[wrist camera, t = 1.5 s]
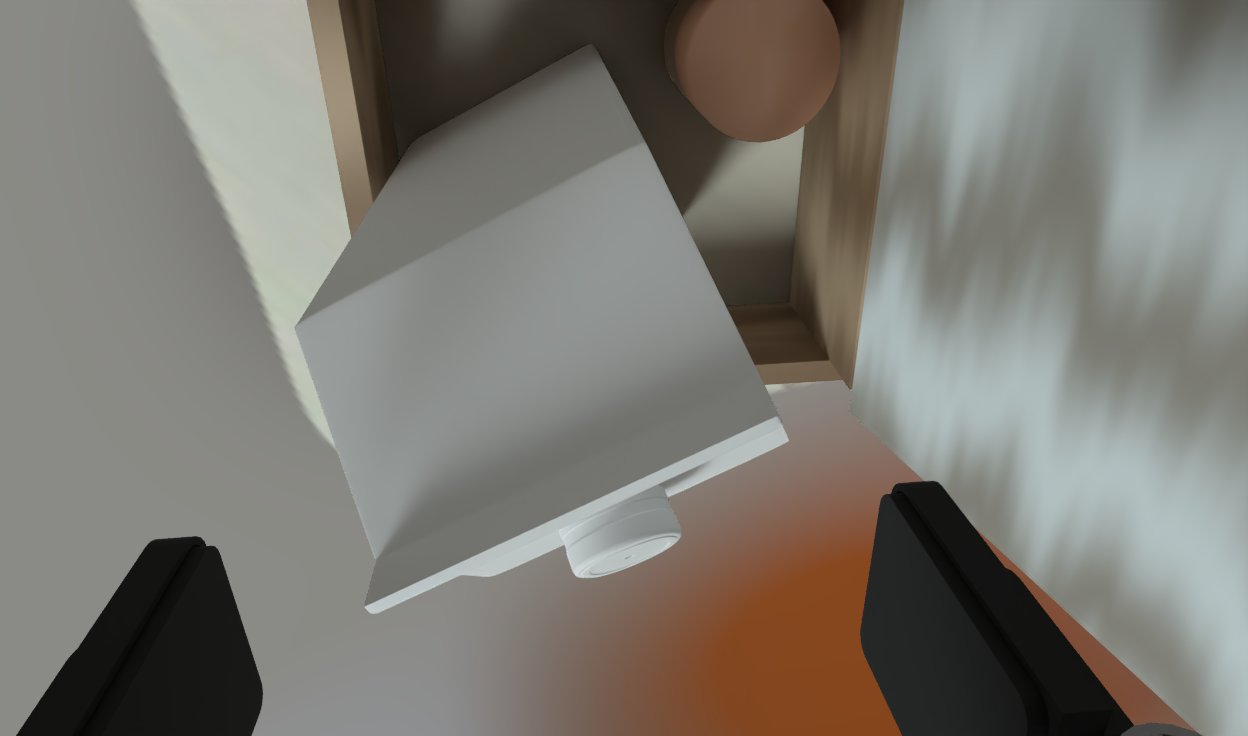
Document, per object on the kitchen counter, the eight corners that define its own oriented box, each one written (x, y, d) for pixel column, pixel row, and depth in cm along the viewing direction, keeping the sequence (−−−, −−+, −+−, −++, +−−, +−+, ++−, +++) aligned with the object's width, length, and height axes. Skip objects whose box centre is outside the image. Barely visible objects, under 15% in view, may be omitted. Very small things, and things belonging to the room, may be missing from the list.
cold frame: (337, -67, 24) (-378, -90, 5) (938, -79, 26) (2065, -131, 7) (405, 342, 31) (193, 982, 12) (881, 315, 32) (1367, 849, 13)
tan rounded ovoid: (663, -27, 26) (689, -21, 21) (796, -31, 26) (848, -25, 22) (663, 113, 28) (686, 145, 24) (786, 108, 28) (831, 138, 24)
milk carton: (409, 141, 28) (212, 448, 11) (591, 40, 27) (681, 208, 10) (514, 306, 31) (484, 738, 14) (679, 222, 30) (858, 579, 13)
